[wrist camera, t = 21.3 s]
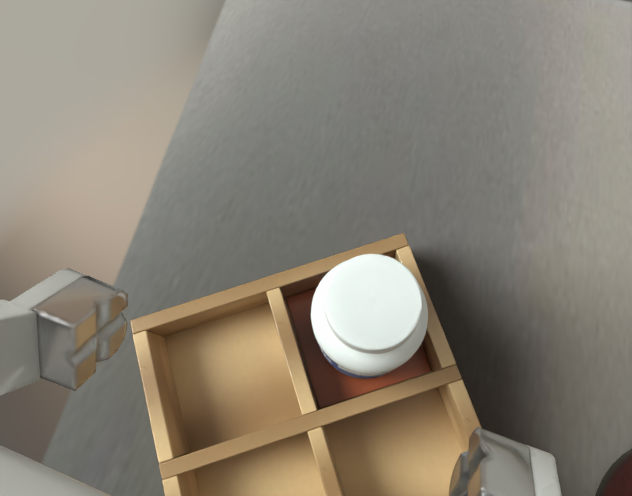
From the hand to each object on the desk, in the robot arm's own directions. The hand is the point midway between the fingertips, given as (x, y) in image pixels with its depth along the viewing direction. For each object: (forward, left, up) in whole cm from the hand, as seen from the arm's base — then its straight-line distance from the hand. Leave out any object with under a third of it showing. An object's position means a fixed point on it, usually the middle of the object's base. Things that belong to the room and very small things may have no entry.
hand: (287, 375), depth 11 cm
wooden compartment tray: (-1, +1, -19) cm, 19 cm away
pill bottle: (+2, -3, -18) cm, 19 cm away
